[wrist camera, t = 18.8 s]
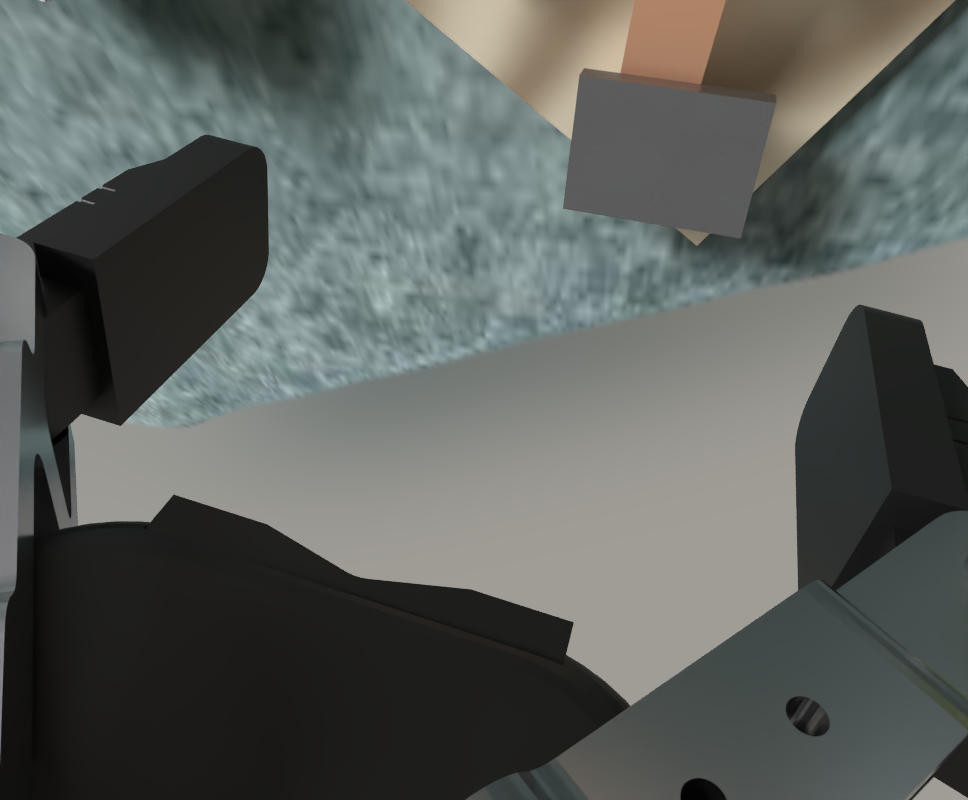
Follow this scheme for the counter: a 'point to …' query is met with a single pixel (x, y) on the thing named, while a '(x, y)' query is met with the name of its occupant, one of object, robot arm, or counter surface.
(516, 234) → the counter surface
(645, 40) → the link
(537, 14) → the board
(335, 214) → the counter surface
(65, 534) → the robot arm
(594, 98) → the block
